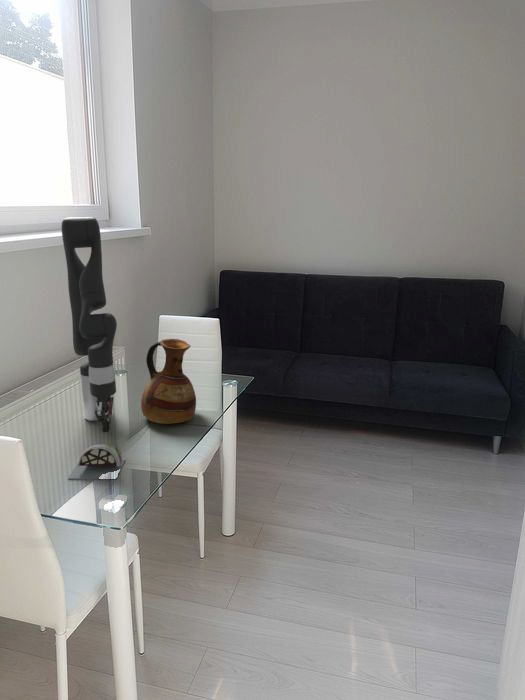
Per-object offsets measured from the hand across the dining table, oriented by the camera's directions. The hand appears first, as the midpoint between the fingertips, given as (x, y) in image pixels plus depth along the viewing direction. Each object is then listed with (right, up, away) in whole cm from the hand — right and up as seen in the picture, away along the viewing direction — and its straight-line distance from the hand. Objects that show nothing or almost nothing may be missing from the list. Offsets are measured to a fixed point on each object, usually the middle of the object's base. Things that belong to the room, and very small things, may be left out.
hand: (106, 431), depth 164 cm
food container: (0, -6, +1) cm, 6 cm away
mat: (-1, -11, -5) cm, 12 cm away
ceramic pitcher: (+14, 0, +31) cm, 34 cm away
